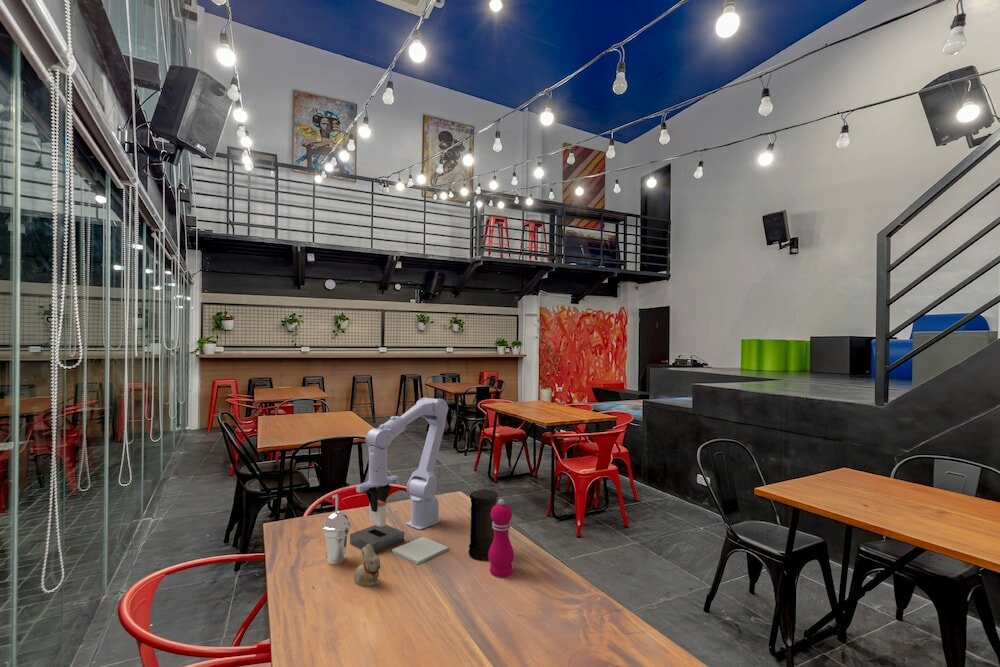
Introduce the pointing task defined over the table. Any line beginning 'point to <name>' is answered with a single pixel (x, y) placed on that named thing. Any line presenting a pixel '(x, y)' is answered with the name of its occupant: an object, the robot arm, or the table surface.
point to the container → (481, 523)
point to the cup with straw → (336, 534)
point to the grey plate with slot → (377, 537)
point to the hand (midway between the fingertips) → (377, 509)
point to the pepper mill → (501, 541)
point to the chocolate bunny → (368, 568)
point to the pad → (420, 550)
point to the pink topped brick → (378, 514)
